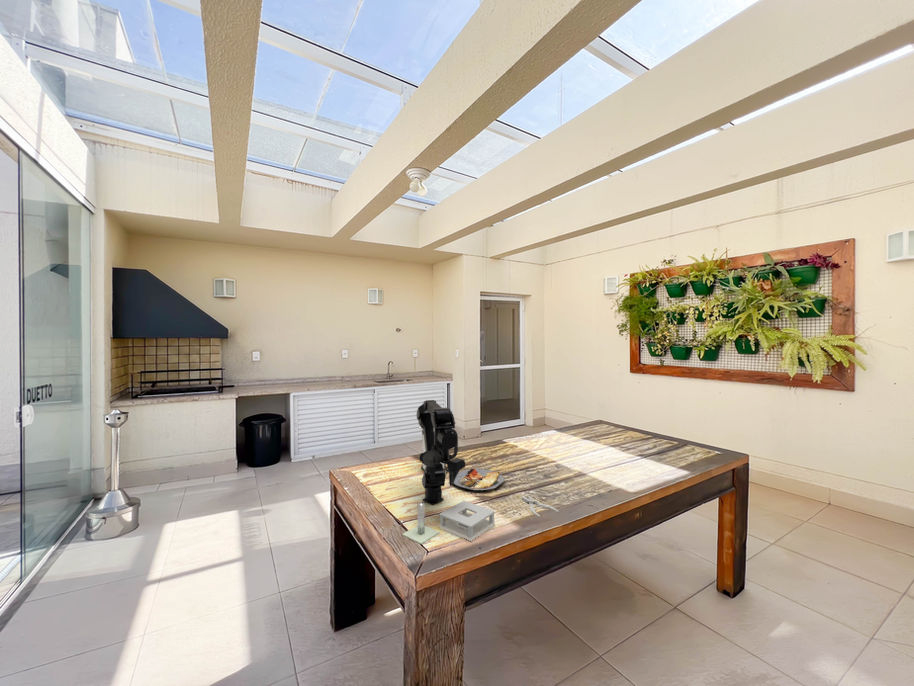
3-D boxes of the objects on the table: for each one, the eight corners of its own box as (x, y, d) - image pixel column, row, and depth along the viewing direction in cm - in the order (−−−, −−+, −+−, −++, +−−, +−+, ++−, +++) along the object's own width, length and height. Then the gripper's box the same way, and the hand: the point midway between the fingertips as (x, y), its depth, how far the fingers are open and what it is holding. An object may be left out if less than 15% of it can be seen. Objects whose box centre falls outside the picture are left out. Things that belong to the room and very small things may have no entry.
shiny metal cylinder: (416, 533, 124) (416, 503, 125) (421, 530, 126) (421, 501, 126) (421, 535, 123) (421, 505, 123) (426, 532, 125) (426, 503, 125)
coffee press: (440, 478, 175) (440, 416, 175) (413, 472, 183) (413, 412, 183) (458, 468, 190) (458, 410, 190) (432, 463, 198) (432, 407, 198)
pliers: (538, 513, 137) (515, 498, 150) (538, 518, 137) (515, 502, 150) (559, 508, 141) (534, 494, 155) (559, 512, 141) (534, 497, 155)
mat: (402, 535, 124) (402, 533, 124) (421, 524, 131) (421, 523, 131) (421, 544, 118) (421, 543, 118) (439, 533, 125) (439, 532, 125)
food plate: (469, 469, 188) (469, 462, 188) (511, 478, 176) (511, 471, 176) (442, 487, 166) (442, 479, 166) (488, 499, 154) (488, 491, 154)
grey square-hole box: (439, 527, 129) (439, 513, 129) (464, 513, 139) (464, 500, 139) (471, 541, 120) (471, 526, 120) (494, 525, 131) (494, 511, 131)
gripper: (409, 442, 138) (409, 483, 138) (446, 451, 126) (446, 496, 126) (429, 436, 147) (429, 475, 147) (466, 444, 135) (466, 486, 135)
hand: (441, 483), depth 139 cm, fingers open, 9 cm apart
